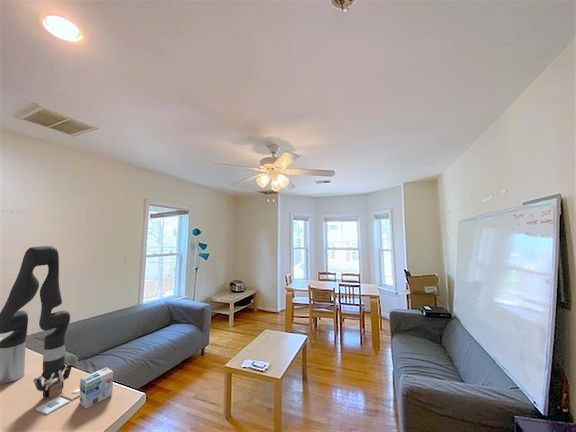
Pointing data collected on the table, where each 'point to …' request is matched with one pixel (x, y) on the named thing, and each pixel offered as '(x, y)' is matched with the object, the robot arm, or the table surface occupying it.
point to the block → (55, 388)
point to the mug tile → (72, 393)
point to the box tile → (52, 405)
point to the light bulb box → (96, 387)
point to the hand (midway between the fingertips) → (53, 393)
